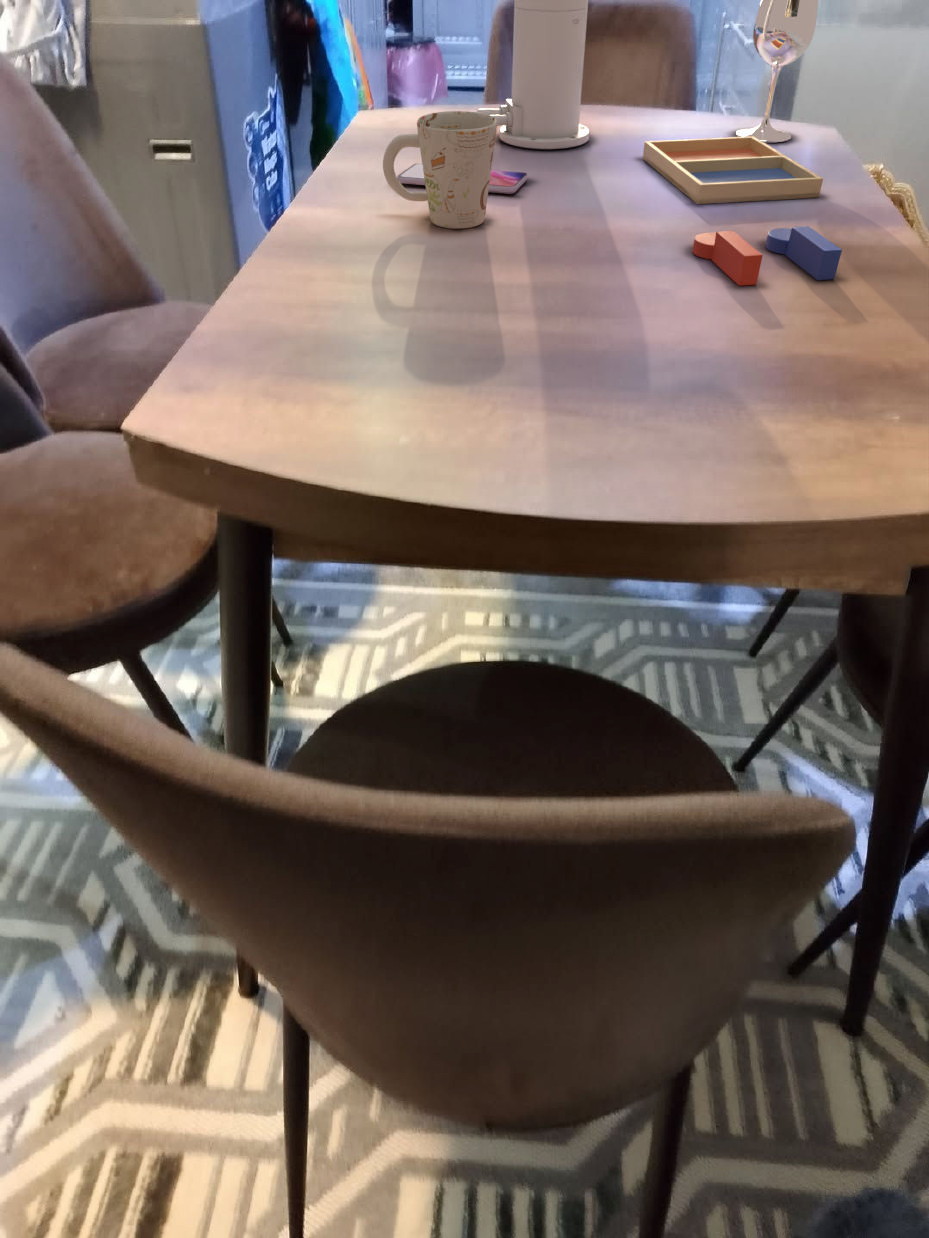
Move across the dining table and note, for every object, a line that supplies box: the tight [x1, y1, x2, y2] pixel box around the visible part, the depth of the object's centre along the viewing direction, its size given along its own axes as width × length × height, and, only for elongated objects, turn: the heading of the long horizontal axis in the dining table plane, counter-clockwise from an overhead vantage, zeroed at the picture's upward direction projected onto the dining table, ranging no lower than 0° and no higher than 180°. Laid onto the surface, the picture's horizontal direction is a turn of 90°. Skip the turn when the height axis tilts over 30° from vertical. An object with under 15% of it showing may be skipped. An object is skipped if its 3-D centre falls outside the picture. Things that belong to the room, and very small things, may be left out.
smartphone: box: [396, 163, 529, 195], centre depth 111 cm, size 7×1×15 cm
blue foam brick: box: [764, 225, 843, 281], centre depth 91 cm, size 11×4×3 cm, turn 10°
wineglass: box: [735, 0, 819, 144], centre depth 122 cm, size 8×8×20 cm
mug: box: [382, 110, 498, 230], centre depth 98 cm, size 8×13×10 cm, turn 78°
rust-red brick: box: [692, 230, 763, 287], centre depth 90 cm, size 11×4×3 cm, turn 10°
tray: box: [642, 136, 824, 205], centre depth 113 cm, size 15×20×2 cm
